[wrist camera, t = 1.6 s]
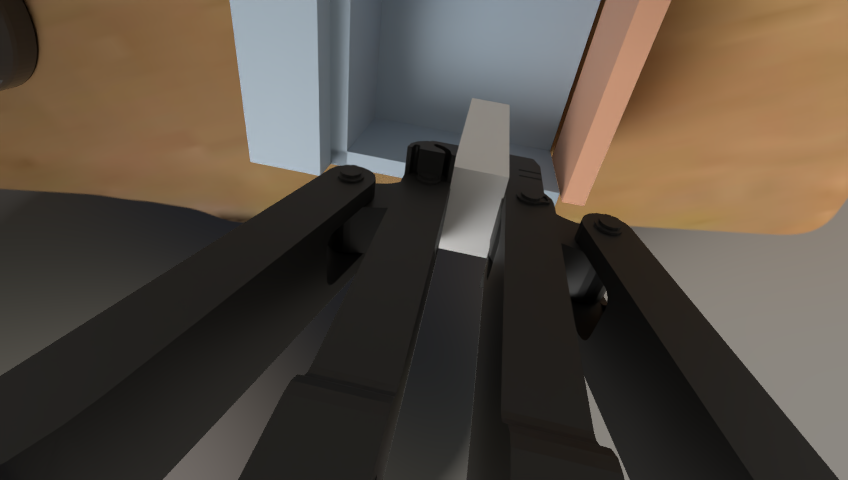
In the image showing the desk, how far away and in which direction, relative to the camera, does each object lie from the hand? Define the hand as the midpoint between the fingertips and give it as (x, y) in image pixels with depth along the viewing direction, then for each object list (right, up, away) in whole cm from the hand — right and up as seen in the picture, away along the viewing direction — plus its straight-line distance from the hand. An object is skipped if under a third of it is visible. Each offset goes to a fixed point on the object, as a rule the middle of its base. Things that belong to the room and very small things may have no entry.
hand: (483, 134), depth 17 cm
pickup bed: (-1, +11, +15) cm, 19 cm away
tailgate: (+10, +8, +13) cm, 18 cm away
